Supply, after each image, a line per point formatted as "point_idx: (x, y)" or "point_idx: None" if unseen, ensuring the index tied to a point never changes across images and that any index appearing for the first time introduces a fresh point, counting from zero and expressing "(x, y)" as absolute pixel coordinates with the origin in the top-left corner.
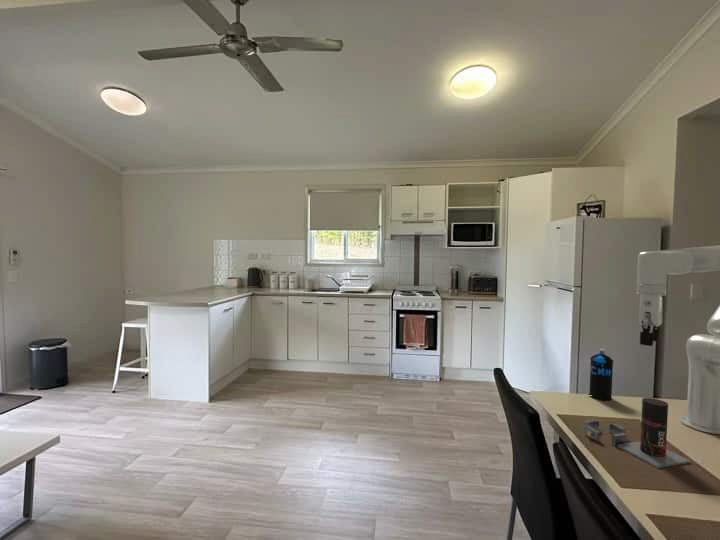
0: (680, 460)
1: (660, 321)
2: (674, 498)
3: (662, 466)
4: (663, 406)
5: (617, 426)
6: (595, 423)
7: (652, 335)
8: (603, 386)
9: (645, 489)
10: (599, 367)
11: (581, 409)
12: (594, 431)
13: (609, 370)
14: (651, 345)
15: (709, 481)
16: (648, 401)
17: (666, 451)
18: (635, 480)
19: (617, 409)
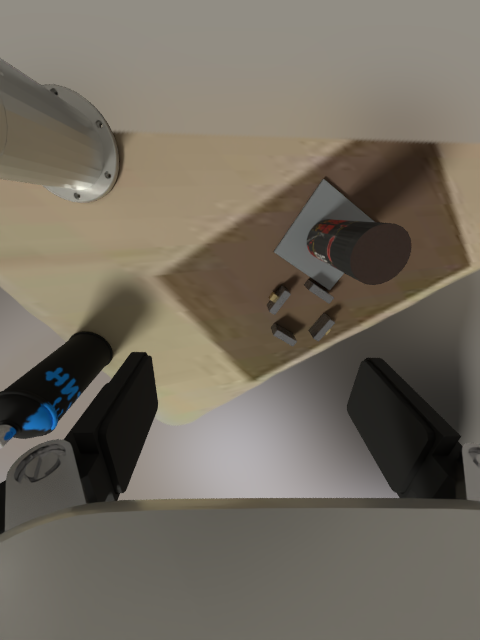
0: (334, 195)
1: (431, 636)
2: (474, 198)
3: (373, 221)
4: (406, 233)
5: (282, 302)
6: (282, 332)
7: (438, 419)
8: (90, 360)
9: (462, 237)
10: (65, 400)
11: (195, 360)
12: (330, 327)
13: (50, 378)
14: (377, 362)
15: (385, 147)
16: (387, 270)
17: (306, 219)
18: (439, 251)
19: (136, 315)
